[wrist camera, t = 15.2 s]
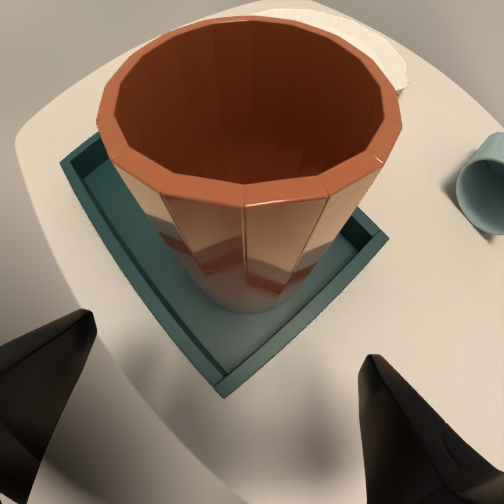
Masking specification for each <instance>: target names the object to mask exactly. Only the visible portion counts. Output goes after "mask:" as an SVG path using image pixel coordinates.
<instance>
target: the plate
mask: <svg viewBox="0 0 504 504" xmlns="http://www.w3.org/2000/svg"><path fill="white" fill-rule="evenodd" d="M248 15H252V16H253V15H255V16H266V17H275V18H282V19H289V20H295V21H299V22H302V23H305V24H308V25H311V26H314V27H317V28H320V29H323V30H325V31H328V32H331V33H333V34H336V35H337V36H340V37H341V38H343V39H344V40H346V41H347V42H349V43H350V44H352V45H353V46H355V47H356V48H358V49H359V50H361V51H362V52H363V53H365V54H366V55H368V56H369V57H370V58H371V59H373V60H374V62H375V63H376V64H377V65H378V67H379V68H380V69H381V71H382V72H383V73H384V74H385V76H386V77H387V78H388V80H389V81H390V83H391V84H392V85H393V87H394V88H395V90H396V91H400V90H404V88H405V87H406V85H407V84H408V80H407V76H406V72H407V68H408V67H407V64H406V62H405V60H404V59H403V58H402V57H401V56H400V55H399V54H398V53H397V52H396V51H395V50H394V48H393V47H392V45H391V44H390V43H389V42H388V41H386V40H385V39H384V38H383V37H381V36H379V35H377V34H376V33H374V32H372V31H370V30H368V29H367V28H365V27H363V26H362V25H360V24H359V23H356V22H354V21H351V20H349V19H346V18H342V17H338V16H334V15H331V14H328V13H325V12H322V11H316V10H310V9H287V8H278V9H269V10H266V11H263V12H259V13H253V14H248ZM248 15H245V16H248Z"/></svg>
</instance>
